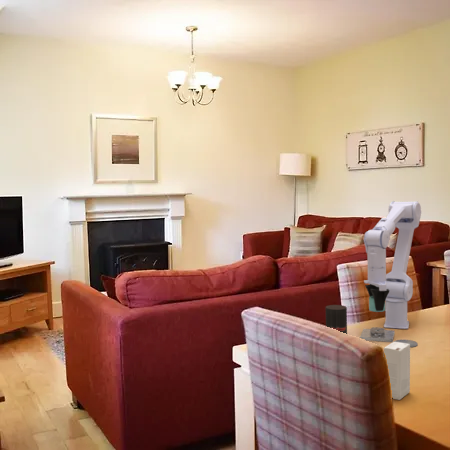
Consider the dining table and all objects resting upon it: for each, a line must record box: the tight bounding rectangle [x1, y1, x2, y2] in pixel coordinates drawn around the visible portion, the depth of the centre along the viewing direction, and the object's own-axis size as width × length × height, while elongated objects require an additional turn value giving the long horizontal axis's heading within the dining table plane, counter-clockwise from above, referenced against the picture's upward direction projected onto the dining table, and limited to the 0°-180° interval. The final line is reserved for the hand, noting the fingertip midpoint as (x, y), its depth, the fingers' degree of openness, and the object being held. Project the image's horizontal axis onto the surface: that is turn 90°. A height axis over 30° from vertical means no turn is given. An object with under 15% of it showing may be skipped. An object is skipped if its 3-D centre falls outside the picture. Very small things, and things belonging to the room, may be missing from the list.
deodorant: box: [325, 304, 348, 335], centre depth 158 cm, size 6×6×15 cm
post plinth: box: [359, 326, 395, 343], centre depth 178 cm, size 10×10×2 cm
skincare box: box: [383, 341, 411, 401], centre depth 130 cm, size 6×4×12 cm
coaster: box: [393, 339, 419, 348], centre depth 169 cm, size 7×7×1 cm
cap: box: [368, 296, 386, 313], centre depth 177 cm, size 5×5×5 cm
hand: (377, 308), depth 177 cm, fingers closed on cap, 5 cm apart
